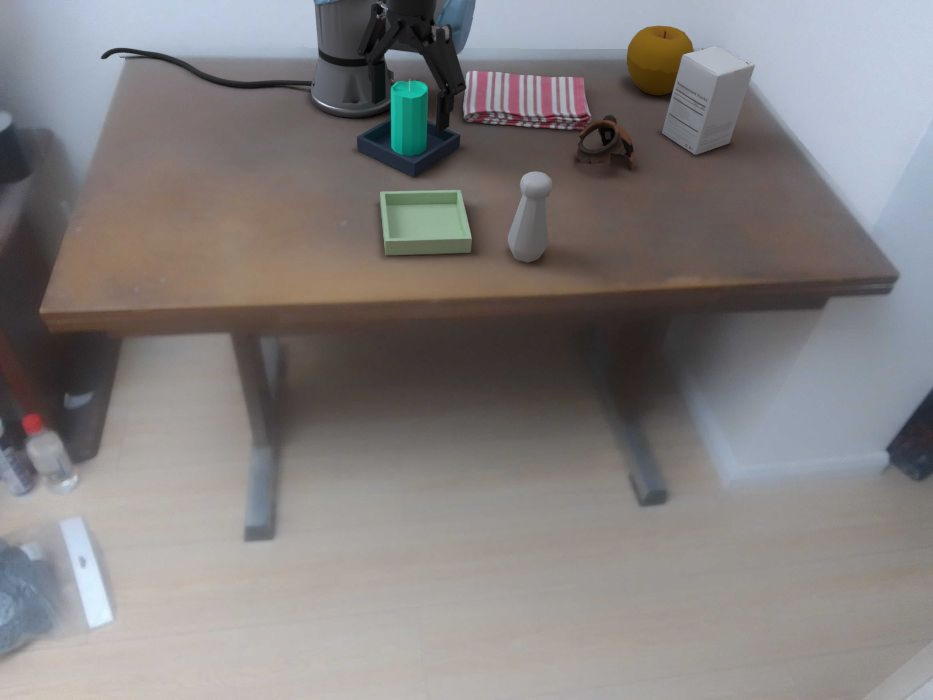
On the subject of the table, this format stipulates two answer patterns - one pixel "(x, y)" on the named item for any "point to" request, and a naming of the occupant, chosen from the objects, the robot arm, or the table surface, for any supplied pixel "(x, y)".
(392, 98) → the candle
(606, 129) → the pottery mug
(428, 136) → the dark tray
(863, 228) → the table surface
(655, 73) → the apple
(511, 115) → the dish towel
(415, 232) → the pale tray
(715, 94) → the rectangular carton
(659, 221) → the table surface
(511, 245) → the salt shaker
